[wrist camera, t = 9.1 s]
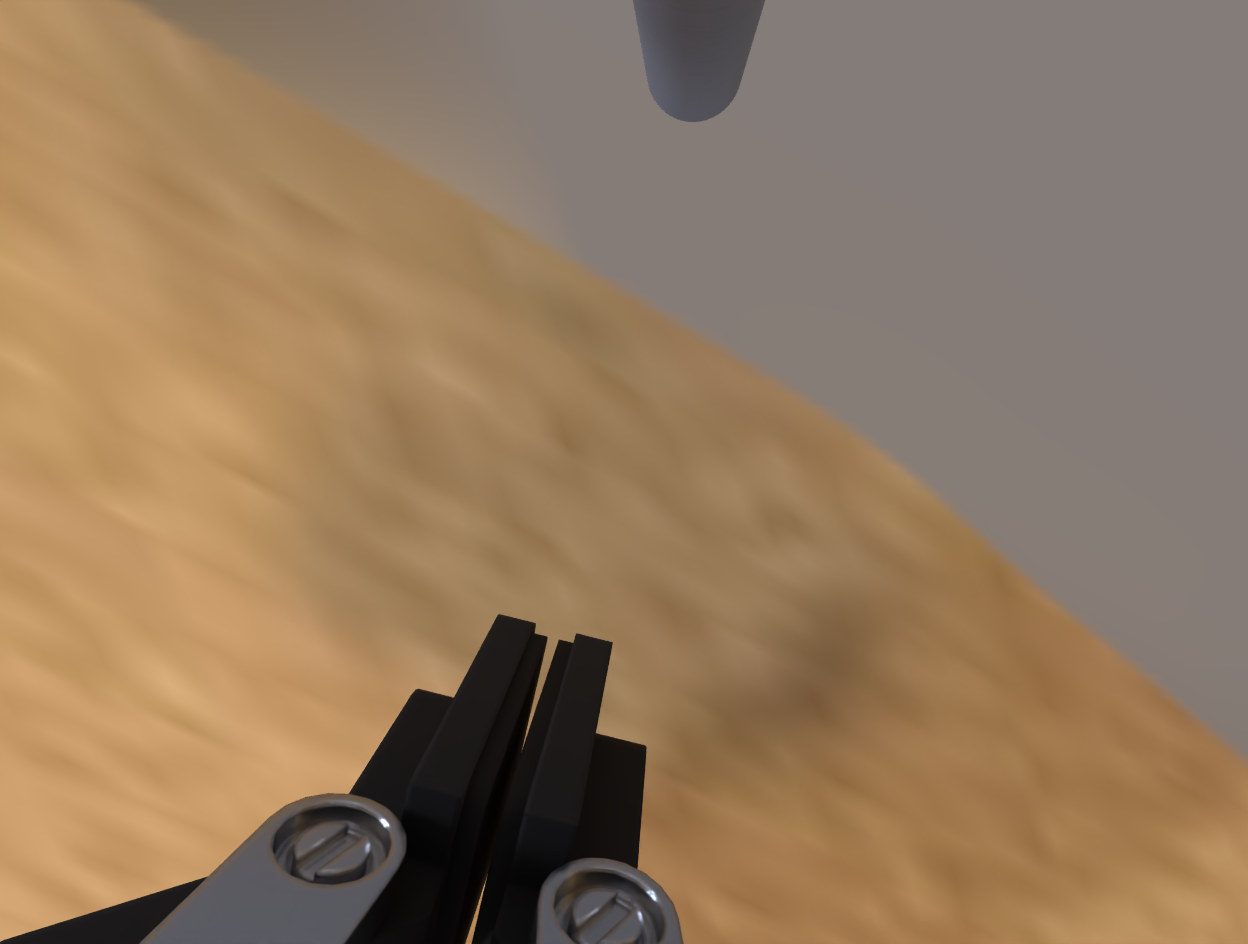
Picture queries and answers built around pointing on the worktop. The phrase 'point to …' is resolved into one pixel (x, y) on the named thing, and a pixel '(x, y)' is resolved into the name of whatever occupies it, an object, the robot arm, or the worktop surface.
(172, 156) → the worktop surface
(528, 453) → the worktop surface
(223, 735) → the worktop surface
